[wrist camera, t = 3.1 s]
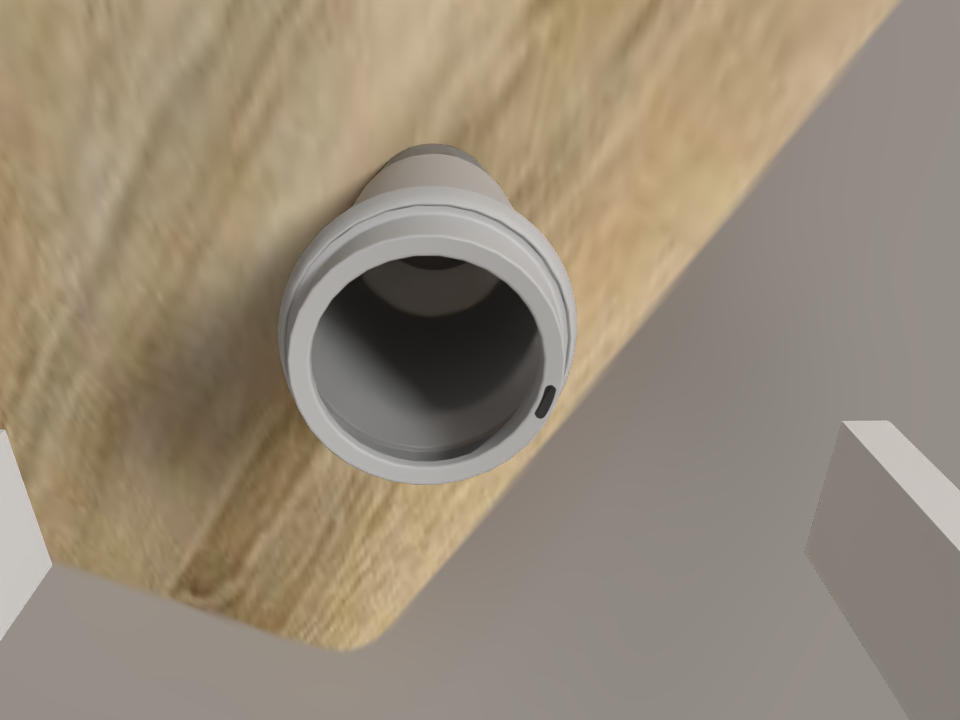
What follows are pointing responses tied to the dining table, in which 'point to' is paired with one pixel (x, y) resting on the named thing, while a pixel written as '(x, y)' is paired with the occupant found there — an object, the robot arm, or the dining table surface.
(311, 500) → the dining table surface
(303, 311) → the cup
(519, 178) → the dining table surface
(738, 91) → the dining table surface
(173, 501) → the dining table surface
